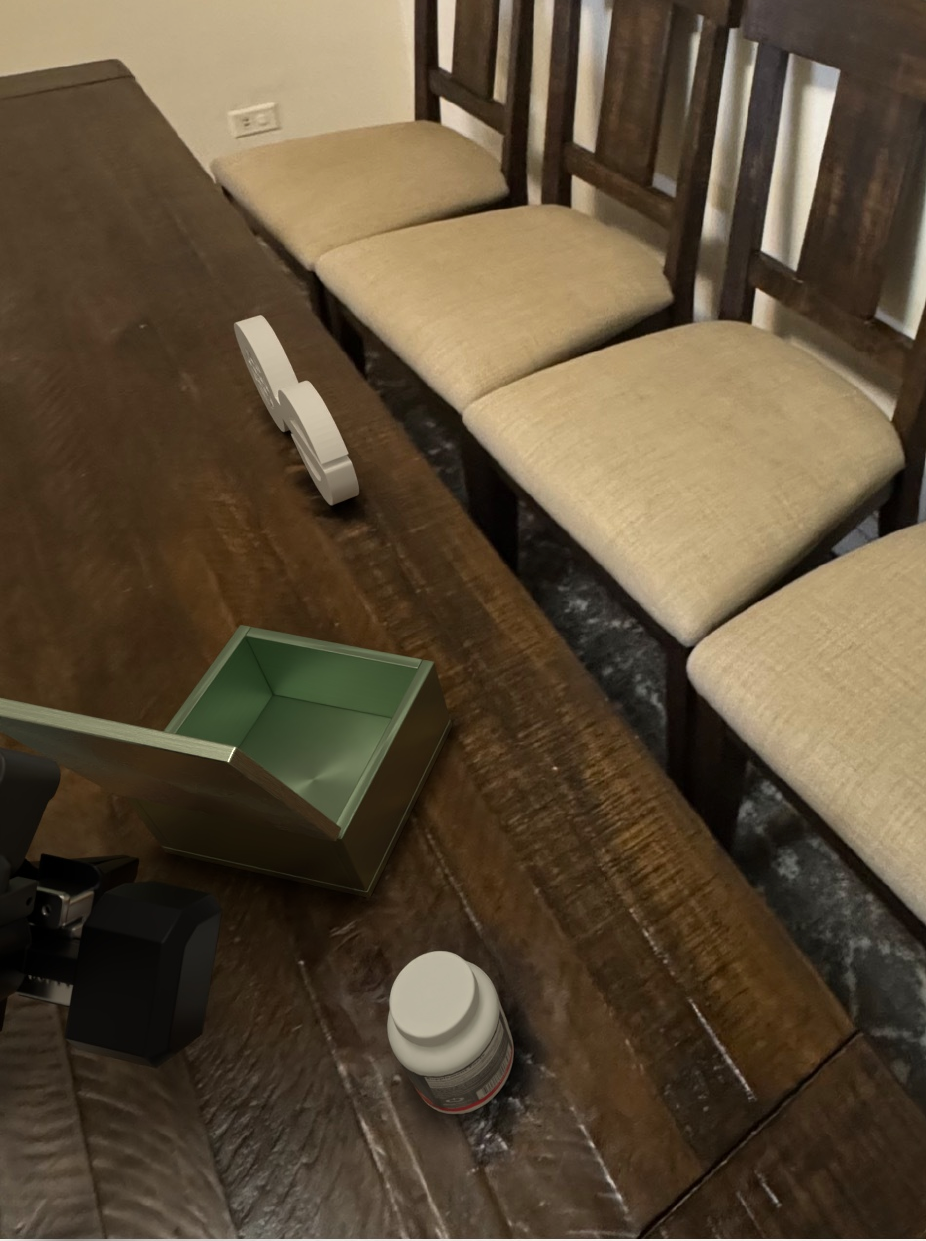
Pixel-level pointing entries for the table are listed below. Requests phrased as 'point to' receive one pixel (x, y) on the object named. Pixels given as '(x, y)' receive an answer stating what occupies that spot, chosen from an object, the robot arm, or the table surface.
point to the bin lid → (164, 768)
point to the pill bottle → (449, 1032)
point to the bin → (312, 753)
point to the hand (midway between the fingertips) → (131, 866)
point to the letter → (297, 410)
